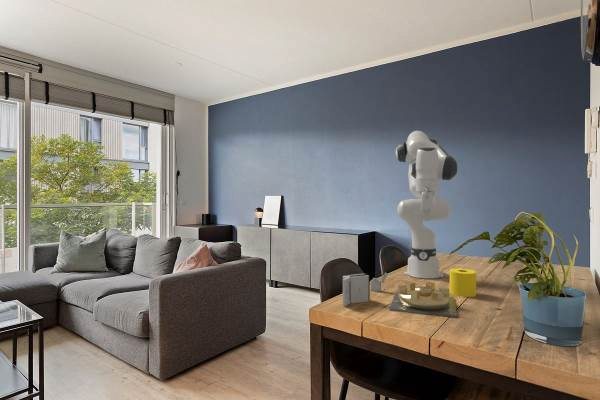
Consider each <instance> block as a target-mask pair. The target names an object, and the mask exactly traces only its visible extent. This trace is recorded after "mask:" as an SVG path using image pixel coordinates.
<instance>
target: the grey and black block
mask: <svg viewBox="0 0 600 400" xmlns="http://www.w3.org/2000/svg"><path fill="white" fill-rule="evenodd" d="M370 291H371V279H370V274H368V273H358V274H357V273H356V274H348V275H343V276H342V307H344V308H345V307H347V306H348V305H350V304H355V303H356V304H357V303H363V302H369V301H370V298H371V297H370V295H371V294H370V293H371V292H370Z"/></svg>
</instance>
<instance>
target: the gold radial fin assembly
mask: <svg viewBox="0 0 600 400" xmlns="http://www.w3.org/2000/svg"><path fill="white" fill-rule="evenodd" d="M397 292H398V301H399V302H400V303H401V304H403V305H406V306H409V307H413V308H418V309H427V310H436V309H444V308H447V307H448V306H449V297H450V287H448V286H447V287H446V286H439V287H438V289H436V283H435V282H432V281H431V282H430V281H428V282H426V283H425V286H423V285H419V286H416V282H414V281H412V280H409V281H405V285H404V284H403V285H401V284H399V285H397Z"/></svg>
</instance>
